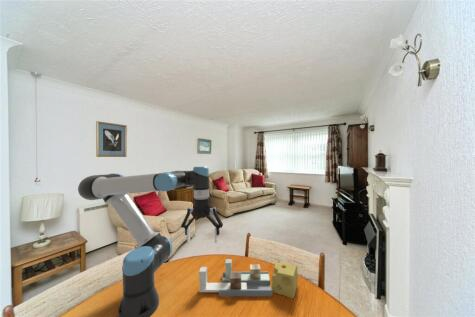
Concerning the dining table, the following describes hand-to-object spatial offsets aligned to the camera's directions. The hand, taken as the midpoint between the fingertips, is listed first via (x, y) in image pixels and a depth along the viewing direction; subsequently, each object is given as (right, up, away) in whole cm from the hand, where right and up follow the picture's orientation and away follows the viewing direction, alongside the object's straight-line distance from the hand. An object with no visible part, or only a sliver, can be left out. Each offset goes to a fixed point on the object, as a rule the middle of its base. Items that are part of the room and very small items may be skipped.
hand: (202, 241), depth 87 cm
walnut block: (+16, -20, -2) cm, 26 cm away
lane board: (+21, -22, +1) cm, 30 cm away
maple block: (+26, -20, +4) cm, 33 cm away
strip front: (+10, -21, -2) cm, 24 cm away
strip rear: (+22, -21, +4) cm, 31 cm away
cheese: (+40, -22, -2) cm, 46 cm away
